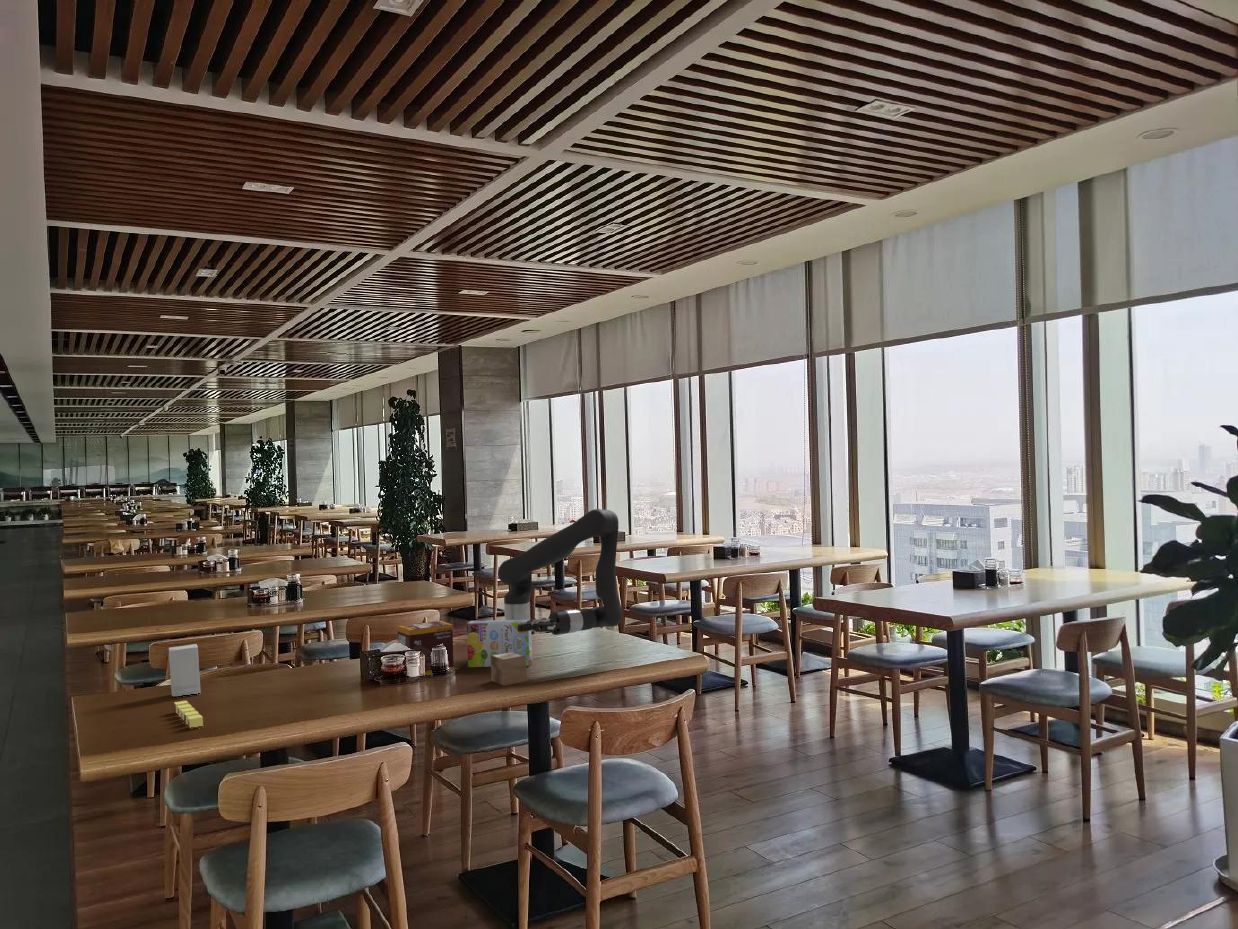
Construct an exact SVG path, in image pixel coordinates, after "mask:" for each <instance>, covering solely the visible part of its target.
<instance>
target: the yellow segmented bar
mask: <svg viewBox="0 0 1238 929" xmlns="http://www.w3.org/2000/svg"><path fill="white" fill-rule="evenodd" d="M174 711H175V712H176V713H177V714H178V715H179V717H181V719H183V720H184V722H185V723H186V724H187V725H188V726H189V727H190V728H191V727H198V726H203V727H204V717H203V716H202V715H201V714H200V713H199V711H198V710H196V709H195V707H193V706H192V705H191V703H189V701H187V700H181V701H175V702H173V712H174ZM179 717H178V718H179ZM181 719H180V720H181ZM184 722H183V723H184ZM188 726H187V727H188Z"/></svg>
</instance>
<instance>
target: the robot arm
mask: <svg viewBox="0 0 1238 929" xmlns="http://www.w3.org/2000/svg"><path fill="white" fill-rule="evenodd" d="M619 528H620V527H619V518H618V515H617V514H616V513H615V511H613V510H609V509H602V508H601V509H600V508H595V509H592V510H590V511H588V512H586V513H585V514H584V515H583V516H581V517H580V518H579V519H577V520H576V521H574V522H573V523H572V524H570V525H568V526H566V527H563V528H562V529H560V530H559V531H557V532H555V533H553V534H551V535H550V536H548V537H546V538H544V539H542V540H541V541H540V542H538V543H536V544H534V545H533V546H532V547H530V548H529V549H527V550H526V551H524V552H522V553H521V554H519V555H518V554H517V555H516V556H513V557H511V558H509V559H507V560H503V562H502V563H501V564H500V566H499V567H498V571H497V576H498V579H499V581H500V582H501V583H503V584H504V585H508V586H510V588H509V590H508V591H507V593H505V595H504V598H503V605H504V607H503V608H504V609H503V610H504V620H529V621H527V623H525V624H518V631H520V632H524V631H530V630H531V632H535V633H538V632H539V633H540V632H541V633H542V632H543V633H549V632H550V633H551V634H552V635H554V636H558V635H566V634H573V633H576V632H577V633H578V632H581V631H589V630H592V629H596V628H611V627H613V628H614V627H617V626H618V625H620V623H621V621H622V619H623V610H622V604H621V602H620V598H619V596H618V593H617V574H616V572H617V571H616V570H617V569H616V567H617V566H616V562H617V560H616V558H617V550H618V549H617V548H618V539H619V538H618V537H619V536H618V535H619ZM594 537H600V553H599V558H598V560H597V564H596V566H595V567H596V568H595V572H594V573H595V575H594V579H595V594H596V597H597V598H599V599H601V601H602V605H601V606H600V605H599V606H595V607H590V608H589V607H588V608H578V609H563V610H557V611H552V612H550V614H549V616H548V618H547V617H540V618H538V619H537V618H536V617H534V618H531V604H530V601H531V600H530V599H531V595H532V590H533V589H532V588H533V584H532V583H533V581H532V580H533V573H532V572H533V571H536V570H540V569H543V568H546V567H548V566H552V565H554V564H555V563H558V562H560V561H562V560H564V559H565V558H567V557H569V556H570V555H571V554H572V553H573V552H574V550H575V549H576V547H577V546H579V544H581V543H582V542H584V541H587V540H588V539H591V538H594Z"/></svg>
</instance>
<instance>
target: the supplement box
mask: <svg viewBox="0 0 1238 929" xmlns="http://www.w3.org/2000/svg"><path fill="white" fill-rule="evenodd" d="M396 627H397V644H398V643H401V644H402V645H404V646H407V647H408V648H410V649H416V650H421V652H422V653H423V654H424V655H425V671H426V675H427V676H433V675H432V670H431V656H430V655H431V652H432V648H433V647H435V646H437V645H440V644H442V643H443V645H444V646H445V647H446V650H447V654H448V661H449V667H450V668H451V669H452V670H454V671H455V666H454V632H453V629H454V627H453V624H452V623H449V622H445V621H442V620H436V621H435V620H434V621H429V622H420V623H419V622H418V623H411V624H406V625H398V626H396ZM398 641H399V642H398ZM427 676H426V677H427Z"/></svg>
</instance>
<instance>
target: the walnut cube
mask: <svg viewBox="0 0 1238 929" xmlns="http://www.w3.org/2000/svg"><path fill="white" fill-rule="evenodd" d="M490 678H491V682H493V683H495V684H499V685H500V686H510V685H513V684H519V683H520V684H521V683H525V682H527V666H526V656H524V655H521V654H518V653H515V652H510V653H504V654H498V655H492V656H491V667H490Z"/></svg>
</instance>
